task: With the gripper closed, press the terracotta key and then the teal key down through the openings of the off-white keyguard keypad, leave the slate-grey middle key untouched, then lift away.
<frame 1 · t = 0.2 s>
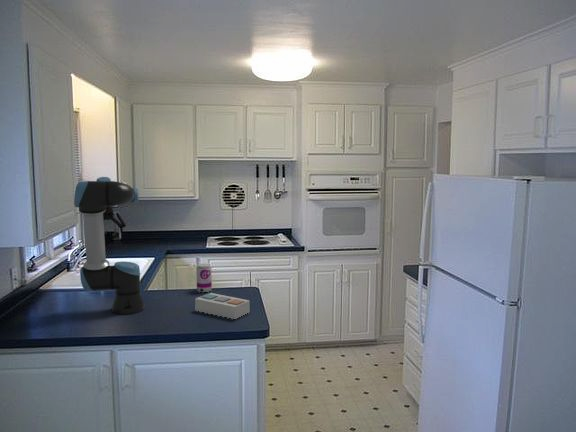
hand: (107, 237, 277), 28 cm above the table, tool tilted 20°, fingers open, 13 cm apart
teal key: (209, 300, 239), point 5 cm above the table, slide at 0.0 cm
keypad: (222, 311, 236), on the table
grey key: (222, 302, 235), point 5 cm above the table, slide at 0.0 cm
supplement can: (204, 291, 271), on the table
terracotta key: (235, 305, 231), point 5 cm above the table, slide at 0.0 cm
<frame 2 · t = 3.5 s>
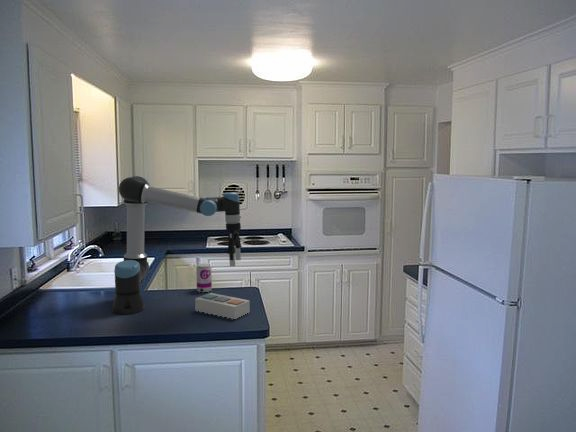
hand: (235, 263, 250), 20 cm above the table, tool pointing down, fingers open, 13 cm apart
nothing on the table moved.
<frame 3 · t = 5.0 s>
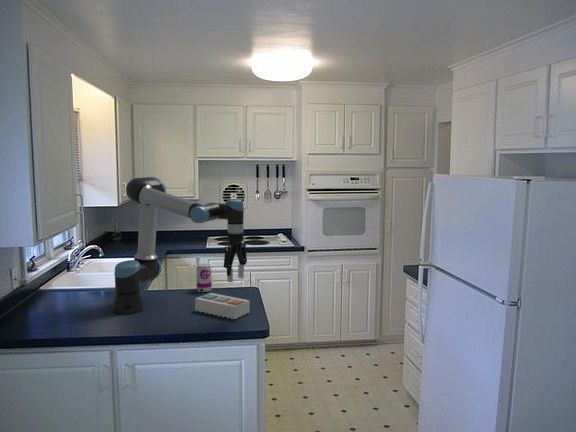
hand: (235, 279, 230), 17 cm above the table, tool pointing down, fingers open, 8 cm apart
nothing on the table moved.
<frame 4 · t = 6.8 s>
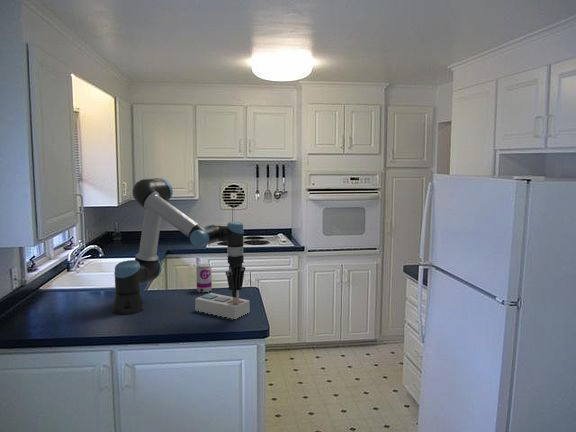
hand: (235, 303, 231), 6 cm above the table, tool pointing down, fingers closed
terracotta key: (235, 307, 231), point 3 cm above the table, slide at 1.1 cm, touching gripper
everything else where it was.
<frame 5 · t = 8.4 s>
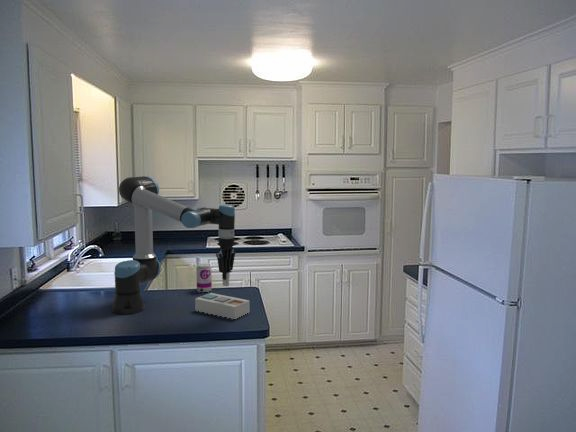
hand: (225, 285, 233), 14 cm above the table, tool pointing down, fingers closed
terracotta key: (235, 308, 231), point 3 cm above the table, slide at 1.4 cm
everything else where it was.
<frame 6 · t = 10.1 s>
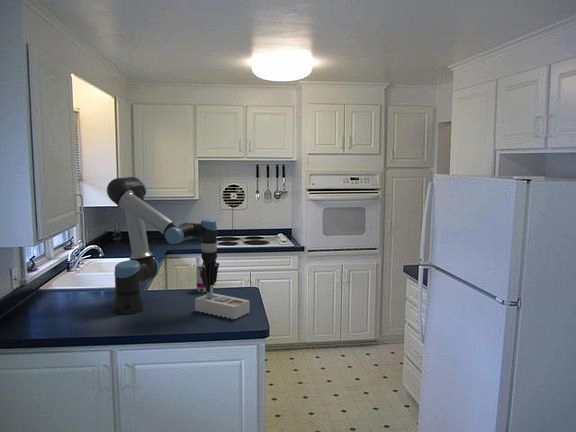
hand: (209, 297, 239), 6 cm above the table, tool pointing down, fingers closed
teal key: (209, 302, 239), point 3 cm above the table, slide at 1.2 cm, touching gripper
everything else where it was.
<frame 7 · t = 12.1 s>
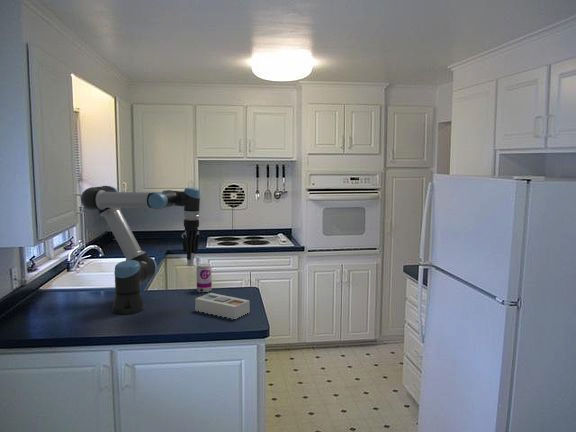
hand: (190, 265, 242), 21 cm above the table, tool pointing down, fingers closed
teal key: (209, 302, 239), point 3 cm above the table, slide at 1.4 cm
everything else where it was.
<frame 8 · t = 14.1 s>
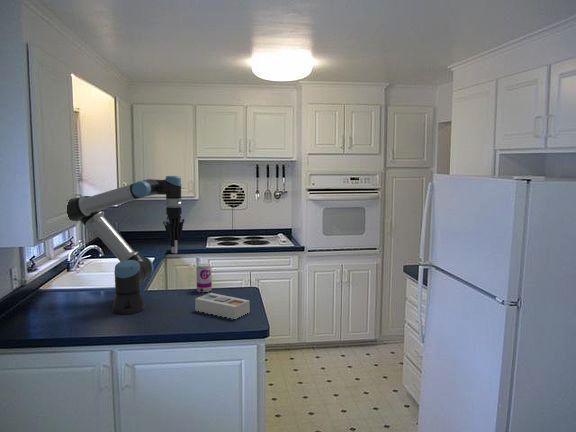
hand: (174, 252, 245), 26 cm above the table, tool pointing down, fingers closed
nothing on the table moved.
at the end: terracotta key slide at 1.4 cm; teal key slide at 1.4 cm; grey key slide at 0.0 cm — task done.
